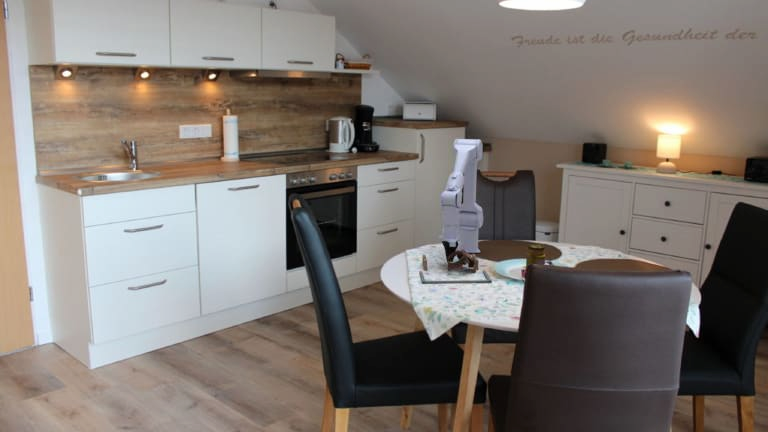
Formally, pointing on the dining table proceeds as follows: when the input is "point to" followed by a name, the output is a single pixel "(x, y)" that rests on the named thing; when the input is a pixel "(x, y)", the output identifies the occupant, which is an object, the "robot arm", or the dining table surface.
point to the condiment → (535, 255)
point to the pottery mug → (460, 260)
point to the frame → (457, 281)
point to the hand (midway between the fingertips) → (449, 261)
